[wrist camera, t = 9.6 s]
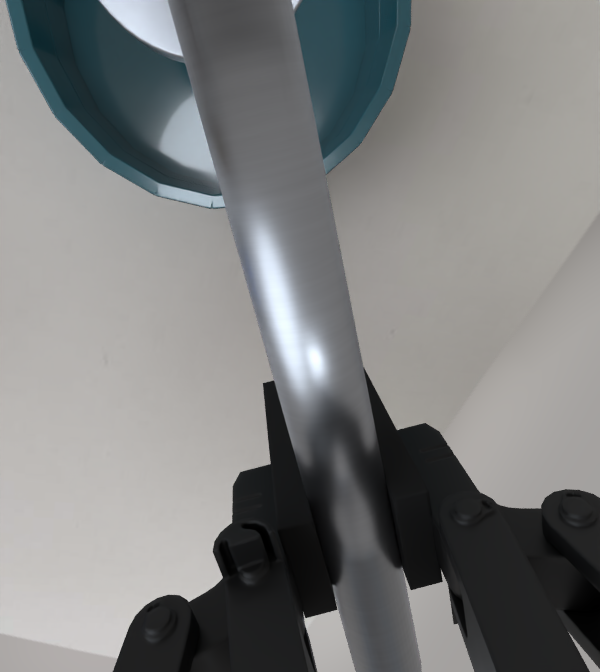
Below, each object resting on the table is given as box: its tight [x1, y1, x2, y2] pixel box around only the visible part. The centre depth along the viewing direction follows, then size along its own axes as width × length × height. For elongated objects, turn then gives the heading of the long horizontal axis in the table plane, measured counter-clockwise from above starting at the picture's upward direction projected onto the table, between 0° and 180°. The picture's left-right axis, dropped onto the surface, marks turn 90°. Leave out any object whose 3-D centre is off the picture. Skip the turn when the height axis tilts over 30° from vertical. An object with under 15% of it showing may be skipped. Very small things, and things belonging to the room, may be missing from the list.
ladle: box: [98, 0, 421, 672], centre depth 13 cm, size 23×6×9 cm, turn 13°
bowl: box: [5, 0, 411, 209], centre depth 22 cm, size 15×15×6 cm
